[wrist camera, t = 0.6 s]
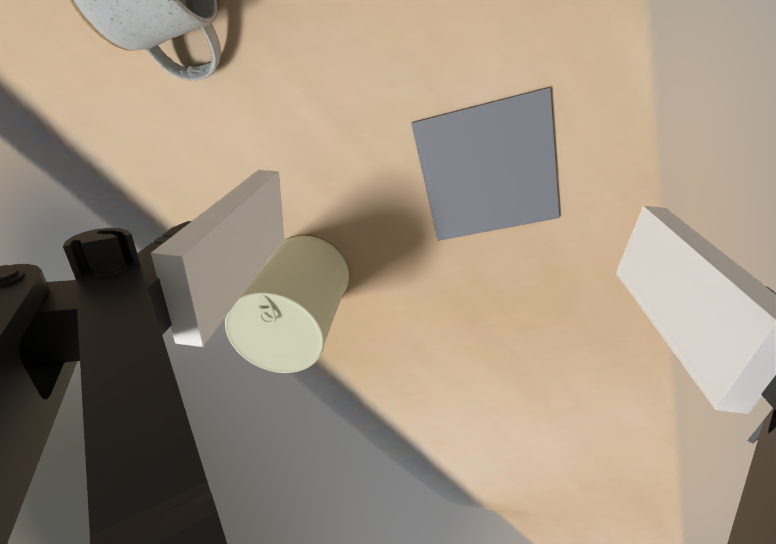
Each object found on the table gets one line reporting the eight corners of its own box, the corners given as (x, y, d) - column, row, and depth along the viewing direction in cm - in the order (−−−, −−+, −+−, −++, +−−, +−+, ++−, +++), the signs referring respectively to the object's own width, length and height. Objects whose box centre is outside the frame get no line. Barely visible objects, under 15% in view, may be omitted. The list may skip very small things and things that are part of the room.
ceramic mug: (102, -39, 34) (21, -56, 27) (181, -87, 31) (113, -117, 25) (177, 92, 38) (123, 105, 32) (250, 58, 36) (208, 65, 30)
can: (342, 232, 43) (311, 293, 33) (355, 304, 48) (331, 377, 38) (261, 237, 45) (207, 296, 35) (281, 306, 49) (238, 377, 39)
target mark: (411, 122, 37) (411, 123, 37) (549, 87, 34) (550, 87, 34) (437, 239, 43) (437, 240, 42) (558, 217, 40) (559, 217, 40)
